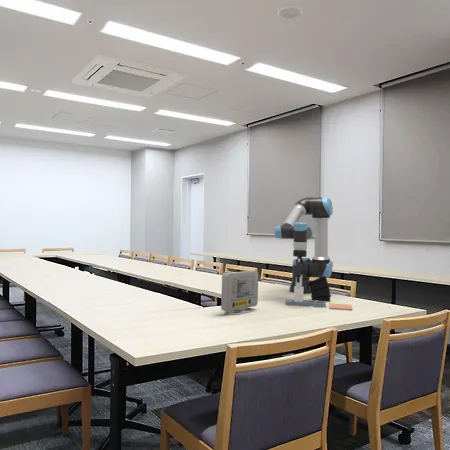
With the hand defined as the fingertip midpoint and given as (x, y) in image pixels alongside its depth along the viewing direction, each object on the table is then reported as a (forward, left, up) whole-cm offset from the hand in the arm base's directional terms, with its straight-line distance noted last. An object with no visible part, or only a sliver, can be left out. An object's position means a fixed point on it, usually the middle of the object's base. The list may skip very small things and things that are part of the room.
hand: (298, 287), depth 243 cm
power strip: (0, +4, -10) cm, 11 cm away
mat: (0, +23, -10) cm, 25 cm away
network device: (+33, -27, -10) cm, 44 cm away
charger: (0, 0, -10) cm, 10 cm away
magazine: (-20, +11, -10) cm, 25 cm away
